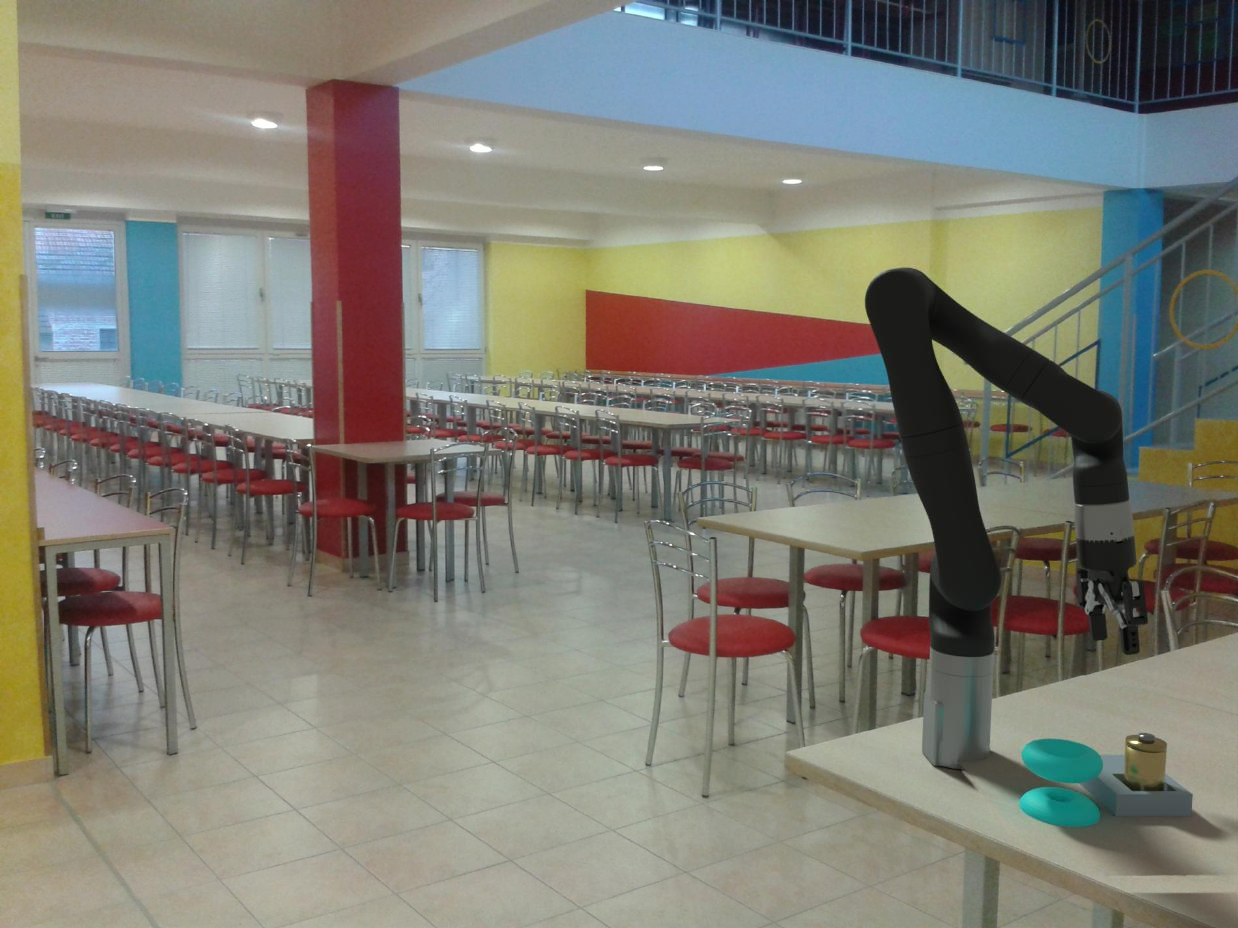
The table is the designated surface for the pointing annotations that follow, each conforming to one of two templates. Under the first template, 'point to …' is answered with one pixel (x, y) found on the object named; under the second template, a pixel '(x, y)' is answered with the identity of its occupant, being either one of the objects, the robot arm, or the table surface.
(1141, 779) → the gold battery
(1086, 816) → the donuts
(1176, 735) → the table surface
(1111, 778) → the housing
